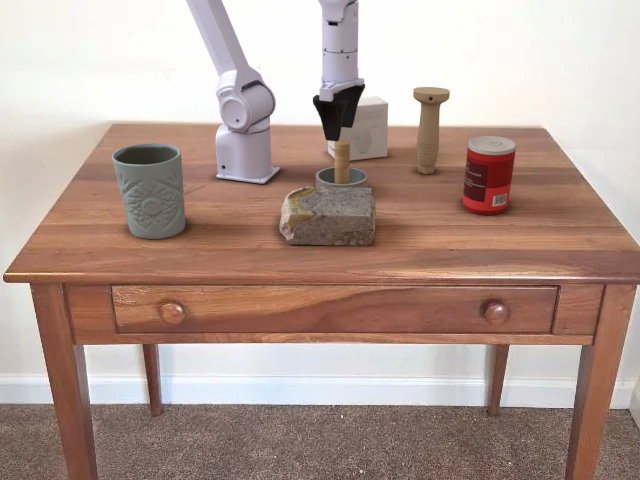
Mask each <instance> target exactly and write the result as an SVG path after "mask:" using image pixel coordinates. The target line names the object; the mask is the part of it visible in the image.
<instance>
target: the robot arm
mask: <svg viewBox="0 0 640 480" xmlns="http://www.w3.org/2000/svg"><path fill="white" fill-rule="evenodd" d="M185 1H186V4H187V6H188V8H189V11H190V13H191V16H192V17H193V20H194V22H195V24H196V27H197V29H198V31H199V34H200V37H201V38H202V41H203V43H204V45H205V48H206V50H207V52H208V55H209V57H210V59H211V61H212V63H213V66H214V68H215V71H216V73H217V76H218V78H219V79H218V83H217V86H216V89H215V95H216V97H217V98H216V99H217V100H218V105H219V115H220V118H221V120H222V122H223V123H222V124H221V125H219V127H218V128H217V129H216V134H215V143H214V144H215V155H216V156H215V157H216V166H217V174H216V175H215V177H216V178H217V179H222V180H223V179H224V180H229V181H237V182H245V183H254V184H260V185H261V184H262V185H263V184H266V183H267V182H268V181H269V180H271V179H272V178H273V177H274V176H275V175H277V173H278V172H279V171H280V170H281V167H280V166H274V165H273V164H272V162H273V161H272V142H271V141H272V139H271V127H270V126H271V124H270V123H271V116H272V115H273V114H274V112H275V110H276V106H277V102H276V101H277V100H276V96H275V94H274V92H273V91H272V89H271V88H270V87H269V86H268V85H267V84H266V83H265V81H264V78H263V76H262V74H261V73H260V72H259V71H257V70H256V69H254V68H253V67H252V66H250V65H249V63H248V60H247V58H246V57H247V56H246V55H245V53H244V50H243V48H242V46H241V44H240V41H239V38H238V36H237V34H236V31H235V28H234V26H233V24H232V22H231V19H230V17H229V15H228V12H227V10H226V7H225V4H224V2H223V0H185ZM317 1H318V3H319V5H320V7H321V16H322V17H321V58H322V59H321V72H322V73H321V77H320V87H319V90H318V91H319V94H315V95H314V96H313V97H312V104H313V106H314V107H315V109H316V112H317V114H318V116H319V119H320V122H321V125H322V130H323V134H324V138H325V141H327V142H328V141H336V142H337V141H339V138H340V134H341V127H346V128H352V127H353V123H354V119H355V115H356V110H357V106H358V103H359V100H360V98H361V97H362V95H363V93H364V90H365V89H366V83H365V78H363V77H359V68H358V67H359V64H358V63H359V62H358V61H359V6H360V3H359V0H317Z"/></svg>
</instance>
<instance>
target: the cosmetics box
mask: <svg viewBox="0 0 640 480" xmlns="http://www.w3.org/2000/svg"><path fill="white" fill-rule="evenodd" d="M388 121H389V102H387V101H385V100H384V99H383V98H381V97H379V96H377V95H372V96H363V97H362V96H361V97H360V100H359V103H358V106H357V110H356V115H355V119H354V123H353V127H352V128H346V127H341V134H340V138H339V140H347V141H349V142H350V162H353V161H359V160H367V159H373V158H374V159H375V158H386V157H388V128H389V127H388V125H389V123H388ZM327 152H328V154H329V155H330V156H331V157H332V158H333V159H335V141H328V140H327Z"/></svg>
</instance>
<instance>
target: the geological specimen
mask: <svg viewBox="0 0 640 480" xmlns="http://www.w3.org/2000/svg"><path fill="white" fill-rule="evenodd" d="M375 200H376V199H375V197H374V196H373V189H372V187H367V188H336V187H331V188H330V189H327V188H324V187H320V188H319V189H316V187H314V186H313V185H308V186H305V187H299V188H297V189H295V190H292V191H291V192H289V193H288V194H287V196H285V198H284V201H283V204H282V206H281V209H280V211H281V215H280V221H279V224H278V229H279V233H280V234H281V235H282V236H283V237H284V238H285V240H286V242H287V243H288V245H308V246H309V245H313V246H365V247H366V246H371V244H372V242H373V241H374V238H375V237H374V236H375V231H376V215H377V207H376V201H375Z"/></svg>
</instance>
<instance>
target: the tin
mask: <svg viewBox="0 0 640 480" xmlns="http://www.w3.org/2000/svg"><path fill="white" fill-rule="evenodd" d="M368 178H369V176H368V173H367V172H366V171H364V170H362V169H360V168H356V167H353V166H350V181H349V184H335V166H331V167H326V168H322V169H321V170H318V171H317V172H316V173H315V188H316V189H319V188H320V187H324V188H327V189H330V188H331V187H336V188H368V182H369V181H368Z"/></svg>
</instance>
